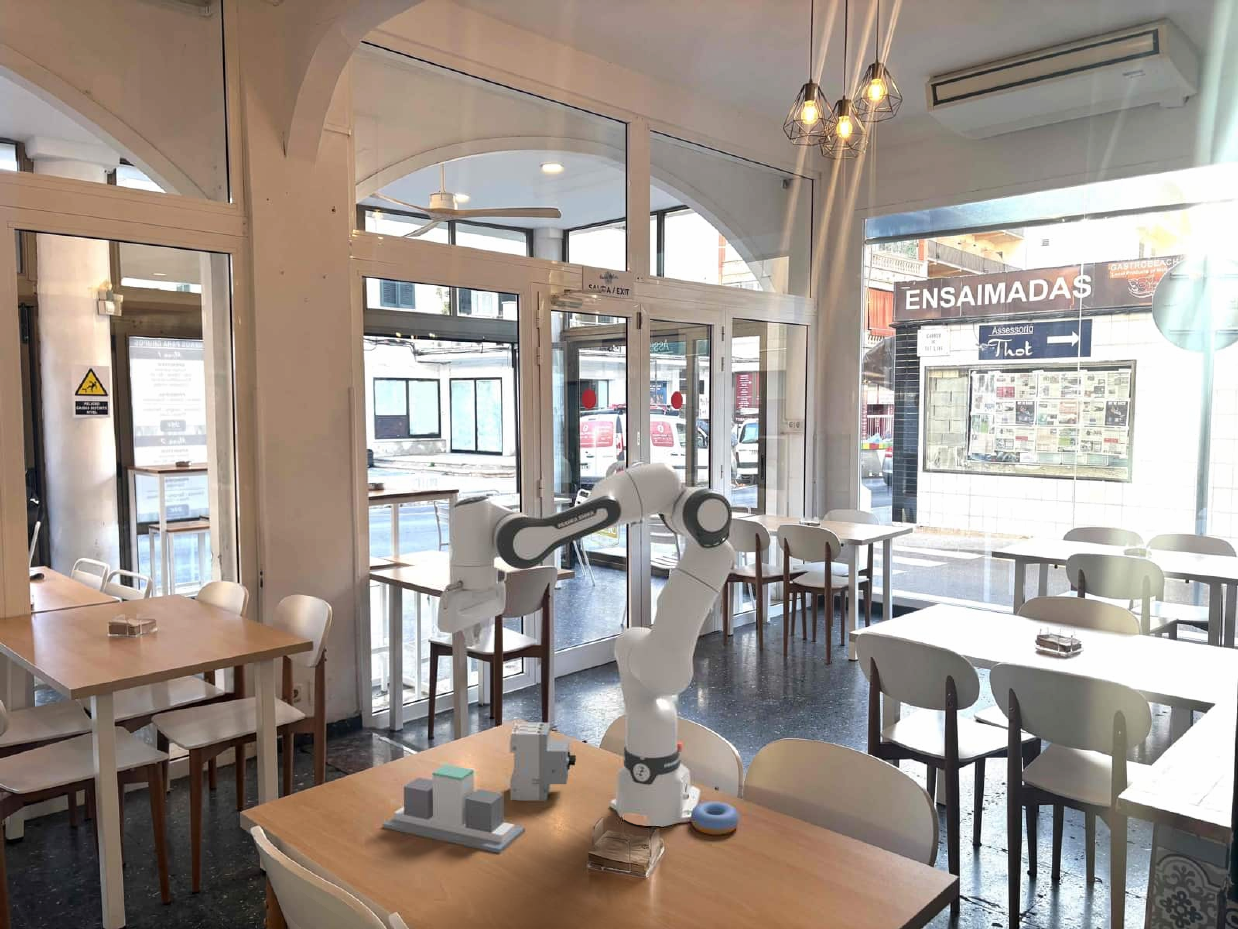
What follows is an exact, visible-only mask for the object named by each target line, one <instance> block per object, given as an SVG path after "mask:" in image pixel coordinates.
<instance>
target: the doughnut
mask: <svg viewBox="0 0 1238 929" xmlns="http://www.w3.org/2000/svg"><path fill="white" fill-rule="evenodd" d="M739 817H740V816H739V813H738V811H737V810H736V808H735V807H734V806H732V805H731V804H728V803H725V802H724V801H723V802H722V801H718V800H717V801H715V800H711V801H704V802H701V803H698V805H697V806H695V807H694V809H693V810H692V813H691V821H690V823H691V824H692V825H693V827H694V829H696V830H697V831H698V832H700V833H703V834H707V835H712V836H713V835H714V836H721V835H727V834H729V833H732V832H733V831H734V830H736V828H737V827H738V825H739Z"/></svg>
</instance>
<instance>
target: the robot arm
mask: <svg viewBox="0 0 1238 929" xmlns="http://www.w3.org/2000/svg"><path fill="white" fill-rule="evenodd" d="M654 515H658V516H659V518H660V520H661V521H662V523H663V525H664V527H666V528H667V529H668V530H669V531H670V532H671V533H674V534H676V535H678V536H679V535H680V536H682V537H684V540H685V542H684V550H683V553H682V556H681V557H680V559H679V560H678V562H677V564H676V565H675V567H674V569H673V570H672V572H671V574H670V575H669V577H668V579H667V580H666V583H665V584H664V586H663V587H662V589H661V591H660V593H659V594H658V596H657V599H656V612H655V616H654V620H653V623H652V626H651V628H647V627H641V626H632V627H628V628H626V629H625V630H623V631H622V632H620V634H619V635H618V636H617V638H616V639H615V642H614V645H613V653H614V657H615V660H616V663H617V667H618V672H619V679H620V686H621V691H622V696H623V697H622V698H623V703H624V710H625V711H624V712H625V746H624V748H623V753H622V754H623V755H622V758H623V767H622V768H620V769H619V770H618V773H617V781H616V782H617V784H616V786H617V787H616V797H614V799H612V800H611V801H610V808H611V809H613V810H614V811H616V812H617V814H618V816H619V818H621V816H622V814H624V813H634V814H643V815H646V816H647V818H648V820H649V822H650V825H653V826H655V825H659V826H660V827H667V826H671V825H674V824H675V825H676V824H678V823H680V824H681V823H689V822H690V823H691V813H692V810H693V809H694V807H695V806H697V805H698V804H699V800H700V796H701V790H700V788H698V787H696V786H693V785H691V771H690V769H688V767H686V766H685V765H683V763H682V762H681V753H682V750H683V742H680V741H678V712H677V708H676V705H675V703H674V700H673V696H677V695H679V694H681V693H682V692H684V691H685V690H686V689H687V688H688V687H689V685H690V684H691V682H692V679H693V675H694V665H693V659H694V658H693V657H694V653H695V648H696V645H697V643H698V642H697V641H698V638H699V634H700V632H701V629H702V627H703V625H704V622H705V620H706V619H707V617H708V614H709V613H710V611H711V609H712V607H713V606H714V604H715V602H716V601H717V598H718V596H719V595H720V593H721V591H722V590H723V588H724V585H725V584H726V581H727V579H728V577H729V574H730V572H731V569H732V566H733V564H734V559H735V556H736V554H735V552H736V551H735V549H734V547H733V545H732V543H730V542H729V540H728V539H729V537H730V527H731V524H732V520H733V519H732V517H733V510H732V507H731V504H730V502H729V500H728V499H727V498H726V497H725V495H723V494H722V493H721V492H719V491H717V490H714V489H711V488H705V487H700V486H684V485H683V483H682V481H681V478H680V475H679V474H678V472H677V471H676V469H675V468H674V467H673V466H672V465H671V464H669V463H666V462H654V463H648V464H643V465H638V466H633V467H630V468H626V469H624V470H620V471H618V472H616V473H612V474H611V475H609V476H607V477H604V478H603V479H600V480H599V481H597V482H596V483H595V484H594V485H593V487H592V488H591V490H590V493H589V495H588V497H587V498H586V499H585V500H584V501H582V502H581V503H579V504H577V505H575V506H572V507H570V508H567V509H564V510H561V511H559V512H556V513H554V514H552V515H549V516H545V517H531V516H528V515H527V514H525V513H523V512H519V511H517V510H513V509H510V508H508V507H506V506H503V505H501V504H499V503H497V502H496V501H494V500H493V499H491V498H490V497H489V496H483V495H481V496H472V497H468V498H464V499H461V500H459V501H457V503H455V504H454V505H453V507H452V510H451V514H450V524H449V544H450V546H451V555H450V560H449V584H447V585H446V586H445V588H444V590H443V591H442V593H441V595H440V598H439V601H438V608H437V609H438V611H437V628H438V631H439V632H441V633H444V634H445V633H446V634H455V633H458V632H460V631H461V632H462V635H463V637H464V645H465V647H468V648H469V647H470V648H473V647H474V646H476V645H479V644H481V635H482V633H483V632H482V631H483V629H484V627H485V626H484V625H485V624H484V622H485V621H487V620H490V619H493V618H496V617H498V616H500V615H502V614H503V613H504V611H505V609H506V601H507V600H506V596H507V595H506V594H507V593H506V592H507V591H506V583H505V582H504V581H506V580H507V575H508V574H507V571H506V570H505V569H502V568H498V567H496V566H495V559H497V558H501V560H503V561H504V562H505V564H507V565H508V566H510V567H512V568H514V569H518V570H526V569H532V568H534V567H536V566H538V565H539V564H541V563H542V562H544V560H545V559H546V558H547V557H549V556H550V555H551V554H552V553H553V552H554V551H555V550H557V549H558V548H560V547H564V546H565V545H567V544H570V543H572V542H574V541H577V540H579V539H582V538H584V537H587V536H589V535H592V534H594V533H597V532H599V531H602V530H608V529H611V528H616V527H621V526H624V525H628V524H631V523H634V522H637V521H640V520H641V521H642V520H643V519H646V518H648V517H650V516H654ZM660 827H659V828H660Z"/></svg>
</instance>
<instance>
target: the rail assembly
mask: <svg viewBox="0 0 1238 929" xmlns="http://www.w3.org/2000/svg"><path fill="white" fill-rule="evenodd" d="M504 796H505V794H504V793H502V792H498V791H497V792H495V791H490V790H486V789H480V788H478V789H476V790H474V793H472V794H471V795H470V796H468V797H467V798H465V823H466V824H464V825H463V826H459V825H454V824H449V823H444V822H440V821H435V820H433V779H427V778H421V777H417V778H415V779H414V780H412V781H410V782H409V783H407V784H405V785H403V806H402V807H401V808H398V810H396V811H395V812H394V814H393V815H394V816H392V817H391V818H389V819H388V820H386V821H385V822H383V823H382V828H385V829H388V830H392V831H398V832H403V833H405V834H411V835H415V836H420V837H424V838H428V839H429V838H430V839H434V840H438V841H442V842H443V841H444V842H448V843H452V844H457V845H461V846H464V847H471V848H474V849H479V850H484V851H489V852H492V853H497V854H501V853H503V851H505V850H506V849H507V848H508V847H509V846H510V845H511V844H512V843H513V842H515V841H516V840H517V839H518V838H519V837H521V835H522V834H523V833H525V831H526V828H525V827H523V826H520V825H515V824H514V823H507V822H505V804H504V803H505V797H504Z"/></svg>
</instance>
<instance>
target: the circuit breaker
mask: <svg viewBox="0 0 1238 929" xmlns="http://www.w3.org/2000/svg"><path fill="white" fill-rule="evenodd" d="M509 740H510V742H509V754H513V765H514V767H513V771H512V773H511V776H510V781H509V793H510V798H509V801H513V800H516V801H540V802H541V801H543V802H545V801H547V800H548V796H549V792H550V789H551V785H567V784H568V779H569V773H570V769H571V766H576V760H577V756H576V754H571V752H570V739H569V738H551V722H515V724H514V726H513V729H512V731H511V733H510V739H509Z"/></svg>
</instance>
